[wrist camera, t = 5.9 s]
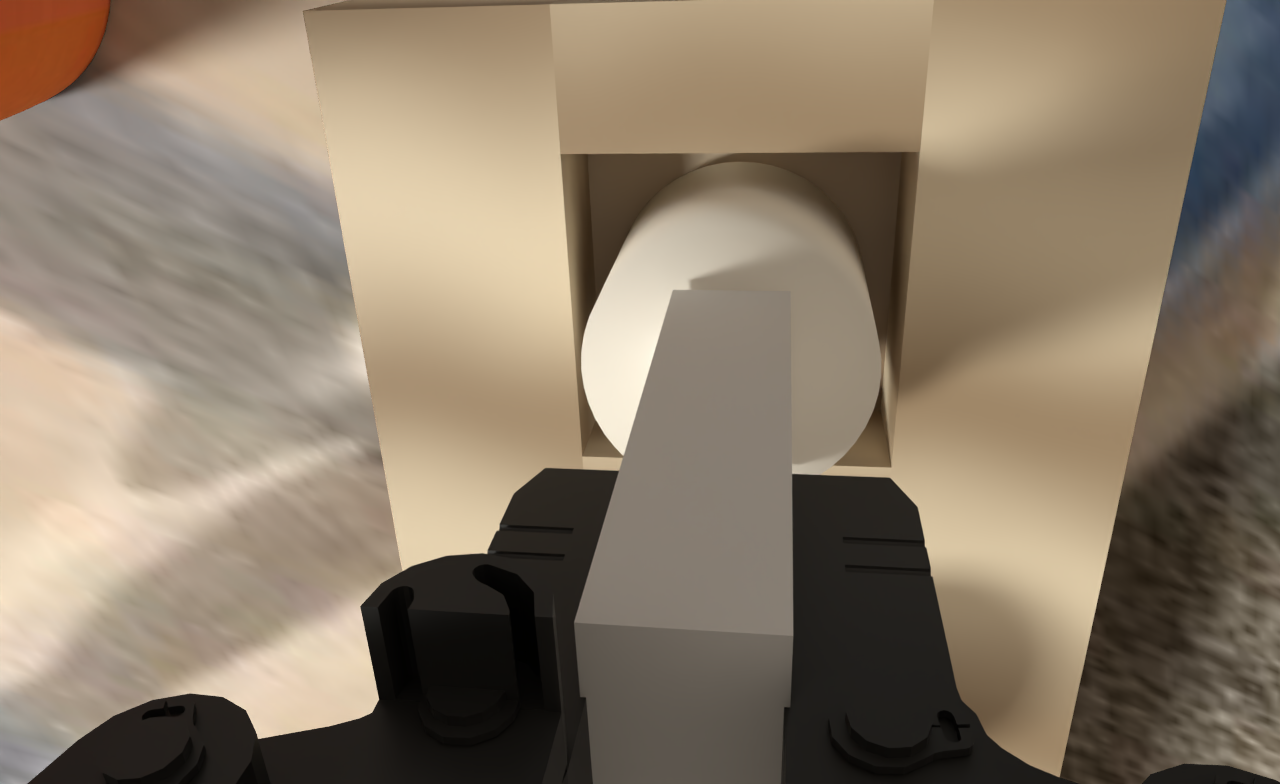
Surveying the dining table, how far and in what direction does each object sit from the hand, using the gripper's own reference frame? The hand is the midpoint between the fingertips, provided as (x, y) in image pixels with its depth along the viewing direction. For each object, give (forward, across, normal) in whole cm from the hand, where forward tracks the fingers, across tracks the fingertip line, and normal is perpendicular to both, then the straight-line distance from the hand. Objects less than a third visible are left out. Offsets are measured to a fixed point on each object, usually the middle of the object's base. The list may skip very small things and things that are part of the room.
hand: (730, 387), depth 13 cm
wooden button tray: (+6, 0, -7) cm, 10 cm away
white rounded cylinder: (+4, 0, 0) cm, 4 cm away
